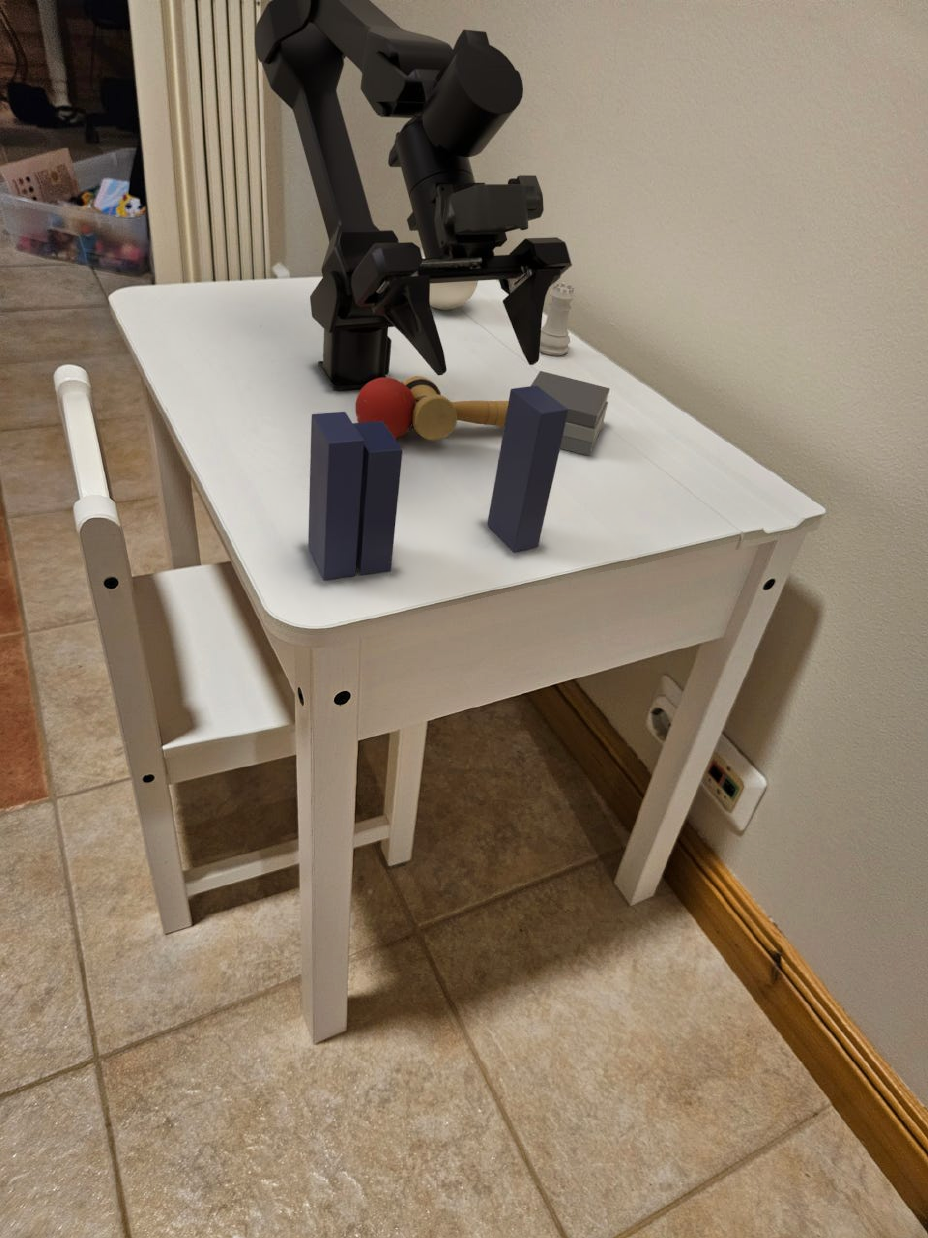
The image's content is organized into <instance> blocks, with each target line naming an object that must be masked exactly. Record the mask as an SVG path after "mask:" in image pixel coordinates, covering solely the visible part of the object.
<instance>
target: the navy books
mask: <svg viewBox="0 0 928 1238" xmlns="http://www.w3.org/2000/svg"><path fill="white" fill-rule="evenodd" d="M310 421H311V423H310V424H311V425H310V428H311V429H310V460H309V461H310V462H309V463H310V465H309V469H310V470H309V498H308V499H309V500H308V501H309V502H308V503H309V504H308V536H307V537H308V539H307V541H308V543H307V548H308V551H309V553H310V555H311V557H312V559H313V561H314V563H315V565H316V567H317V569H318V571H319V574H320V575H321V578H322V580H323V581H328V580H336V579H341V578H348V577H349V578H350V577H355V576H356V569H357V571H358V574H359V576H365V575H371V574H372V575H373V574H379V573H384V572H386V573H387V572H391V571H392V563H393V553H394V552H393V551H394V543H395V533H396V524H397V523H396V521H397V512H398V511H397V510H398V503H399V493H400V492H399V491H400V481H401V471H402V461H403V449H404V448H402V446H401V445H400V444H399V442H398V441H397V438H396V439H395V438H394V437H393V435H392V434H391V432H390V431H389V429H388V428H387V427H386V425H385V424H384V422H383V421H377V422H363V423H358V422H353V421H352V420H351V418H350V417H349V415H348V413H347V412H346V411H335V412H321V413H312V414H311V420H310Z"/></svg>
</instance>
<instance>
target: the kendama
mask: <svg viewBox="0 0 928 1238" xmlns="http://www.w3.org/2000/svg"><path fill="white" fill-rule="evenodd" d="M508 402H509V400H459V401H451V400H450V399H449V398H447V397H446V396H444V395H442V394H441V391H440V389H439V387H438V386H437V384H436V383H435V382H434V381H432V380H431V379H429V378H427V377H425V376H421V375H414V376H410V377H408V378H406V379H405V380H404V381H401V380H398V379H396V378H393V377H387V376H386V377H383V378H377V379H374V380H372V381H370V382H368V383H367V384H366V385H365V386H364V387H363V388H360V390H359V392H358V394H357V397H356V400H355V405H354V406H355V408H354V409H355V410H354V411H355V417H356V420H357V423H363V422H377V421H383V422H384V424H385V425H386V427H387V428H388V429H389V431H390V432H391V434H392V435H393V437H394V438H395V439H396V440H397V439H398V438H401V437H402V436H404V435H406V434H408V433H410V432H413V431H415V432H416V433H417V434H418V435H419V436H421V437H422V438H424V439H425V440H428V441H440V440H443V439H445V438H447V437H448V436H449V435H450V434H451V433H452V432H454V429H455V427H456V425H457V422H458V421H460V422H465V423H470V424H471V423H472V424H478V425H487V426H495V427H501V428H504V425H505V420H506V414H507V408H508ZM412 426H413V428H412V429H411V427H412Z"/></svg>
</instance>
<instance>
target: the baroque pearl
mask: <svg viewBox="0 0 928 1238" xmlns="http://www.w3.org/2000/svg"><path fill="white" fill-rule="evenodd" d="M420 251H421V255H422V258H423V259H425V255H424V252H423V248H420ZM478 284H479V281H465V282H448V283H432V284H430V307H432V308H434V309H438V310H443V311H445V310H446V311H447V310H448V311H450V310H455V309H457V308H459V307H460V308H461V307H462V306H463V305H465V304H466V303H467V302H469V300H470V299H471V298H472V296H473V295H474V293H475V291H476V289H477V287H478Z"/></svg>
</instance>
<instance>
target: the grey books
mask: <svg viewBox="0 0 928 1238" xmlns="http://www.w3.org/2000/svg"><path fill="white" fill-rule="evenodd" d="M536 385H537V386H538V387H540V388H541V389H542V390H544V391H545V392H546V393H548V394H549V395H550V396H551V397H553V398H554V399H555V400H557V401H558V402H559V403H561V404H562V405H563V406H564V407H566V408H567V409H568V415H567V419H566V424H565V428H564V433H563V437H562V442H561V446H560V450H565V451H569V452H571V453H577V454H580V455H584V456H588V457H589V456H590V455H591V453H592V450H593V448H594V446H595V444H596V441H597V439H598V437H599V434H600V433H601V431H602V429H603V426H604V422H605V418H606V414H607V411H608V410H607V409H608V405H609V401H608V398H609V394H610V389H611V388H610V387H607V386H603V385H599V384H594V383H591V382H586V381H583V380H578V379H574V378H571V377H566V376H563V375H559V374H556V373H555V374H554V373H551V372H547V371H543V370H540V371H539V372H538V373H537V375H536V377H535V378H534V380H533V381H532V383H531V384H530V386H536Z"/></svg>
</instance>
